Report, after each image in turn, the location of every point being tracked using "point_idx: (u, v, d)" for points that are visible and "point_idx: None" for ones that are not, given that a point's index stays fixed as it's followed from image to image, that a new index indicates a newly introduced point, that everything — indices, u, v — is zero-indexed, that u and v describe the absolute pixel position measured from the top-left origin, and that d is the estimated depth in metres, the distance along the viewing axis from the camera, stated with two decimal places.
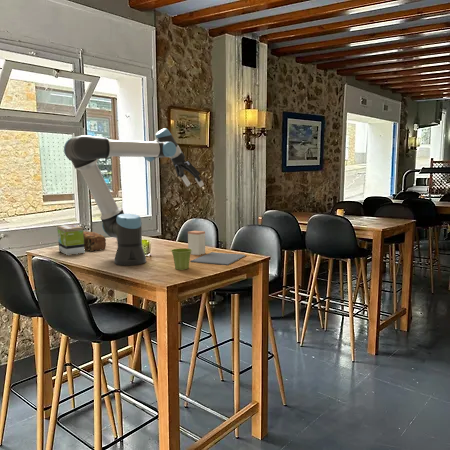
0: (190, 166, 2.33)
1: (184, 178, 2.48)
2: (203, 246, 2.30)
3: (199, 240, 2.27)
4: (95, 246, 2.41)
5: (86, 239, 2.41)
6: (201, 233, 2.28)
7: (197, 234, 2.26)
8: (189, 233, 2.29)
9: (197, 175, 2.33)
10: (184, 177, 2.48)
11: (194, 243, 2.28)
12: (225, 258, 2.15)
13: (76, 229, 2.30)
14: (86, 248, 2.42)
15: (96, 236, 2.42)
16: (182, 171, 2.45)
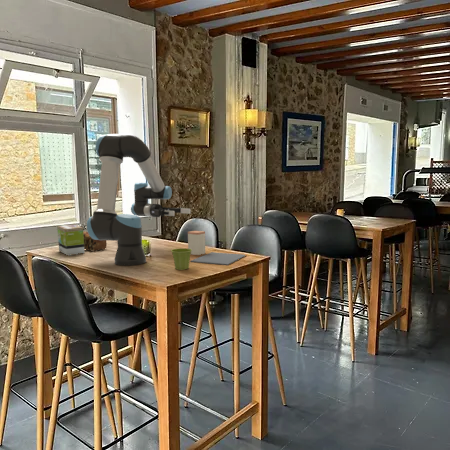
0: None
1: None
2: (203, 246, 2.30)
3: (199, 240, 2.27)
4: (96, 246, 2.41)
5: (87, 239, 2.41)
6: (201, 233, 2.28)
7: (197, 234, 2.26)
8: (189, 233, 2.29)
9: None
10: None
11: (194, 243, 2.28)
12: (225, 258, 2.15)
13: (76, 229, 2.30)
14: (87, 248, 2.42)
15: None
16: None
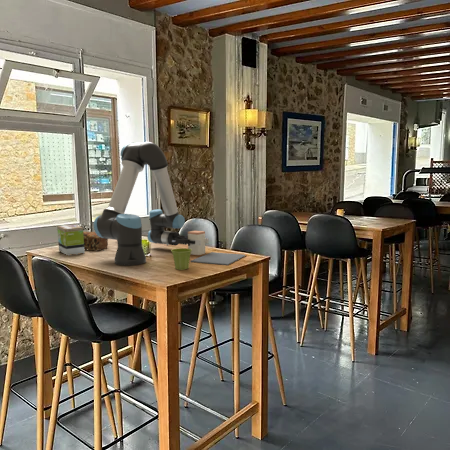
0: None
1: None
2: (203, 246, 2.30)
3: None
4: (99, 246, 2.43)
5: (90, 239, 2.42)
6: (201, 233, 2.28)
7: (197, 234, 2.26)
8: (189, 233, 2.29)
9: None
10: None
11: None
12: (225, 258, 2.15)
13: (76, 229, 2.30)
14: (90, 248, 2.43)
15: None
16: None
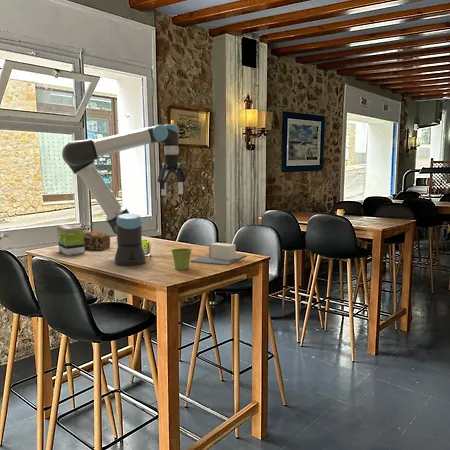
0: (162, 169, 2.21)
1: (179, 184, 2.33)
2: None
3: None
4: (103, 245, 2.45)
5: (94, 238, 2.43)
6: None
7: None
8: None
9: (157, 180, 2.20)
10: (180, 183, 2.33)
11: None
12: None
13: (76, 229, 2.30)
14: (93, 247, 2.44)
15: (103, 235, 2.45)
16: (178, 176, 2.31)
